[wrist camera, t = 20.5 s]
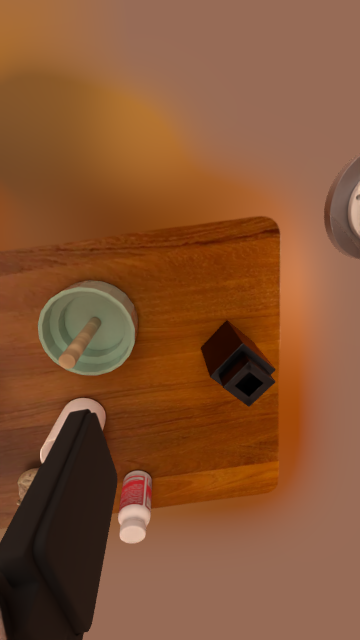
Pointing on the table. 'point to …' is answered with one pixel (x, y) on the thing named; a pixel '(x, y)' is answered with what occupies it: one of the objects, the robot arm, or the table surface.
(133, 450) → the table surface
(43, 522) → the robot arm
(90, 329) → the stick
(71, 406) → the mug
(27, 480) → the seashell
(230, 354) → the vase
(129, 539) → the pill bottle
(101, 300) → the bowl
